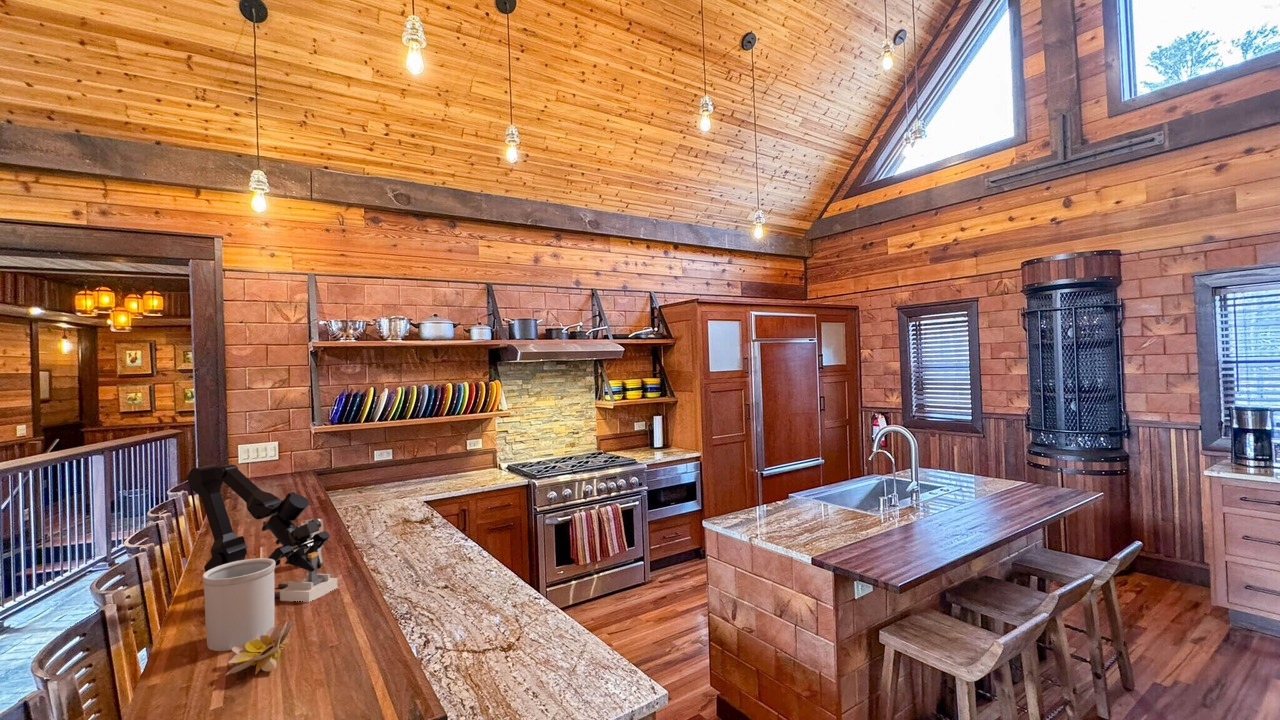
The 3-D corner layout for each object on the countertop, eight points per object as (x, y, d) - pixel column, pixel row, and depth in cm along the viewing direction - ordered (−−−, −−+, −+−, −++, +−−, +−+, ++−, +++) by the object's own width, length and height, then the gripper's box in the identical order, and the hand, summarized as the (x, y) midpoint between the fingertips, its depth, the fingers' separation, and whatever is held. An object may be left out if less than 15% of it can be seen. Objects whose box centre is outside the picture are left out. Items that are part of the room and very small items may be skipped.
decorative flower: (235, 647, 129) (246, 604, 130) (290, 648, 133) (300, 607, 134) (213, 684, 115) (225, 636, 116) (275, 684, 119) (286, 638, 120)
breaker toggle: (302, 586, 163) (301, 555, 163) (315, 579, 168) (315, 550, 168) (310, 586, 162) (310, 556, 163) (323, 580, 167) (323, 550, 167)
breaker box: (253, 598, 163) (253, 582, 163) (284, 584, 174) (284, 569, 174) (309, 602, 159) (309, 585, 159) (337, 587, 170) (337, 572, 170)
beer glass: (316, 567, 190) (315, 523, 190) (296, 567, 190) (296, 523, 190) (328, 560, 197) (327, 518, 197) (309, 560, 197) (308, 518, 197)
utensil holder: (238, 655, 129) (237, 579, 129) (186, 650, 132) (186, 577, 132) (290, 626, 143) (289, 559, 144) (242, 623, 146) (242, 556, 147)
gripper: (274, 520, 157) (308, 561, 155) (324, 505, 176) (355, 541, 173) (252, 547, 159) (284, 588, 156) (304, 529, 177) (334, 565, 174)
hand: (316, 569), depth 165 cm, fingers closed on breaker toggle, 2 cm apart
